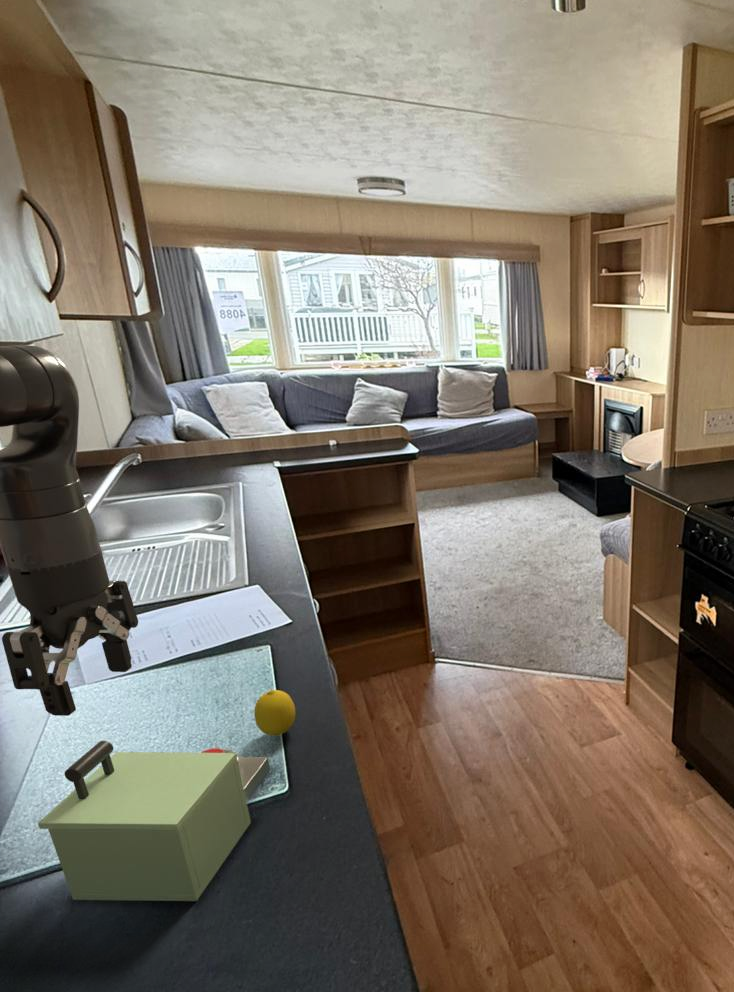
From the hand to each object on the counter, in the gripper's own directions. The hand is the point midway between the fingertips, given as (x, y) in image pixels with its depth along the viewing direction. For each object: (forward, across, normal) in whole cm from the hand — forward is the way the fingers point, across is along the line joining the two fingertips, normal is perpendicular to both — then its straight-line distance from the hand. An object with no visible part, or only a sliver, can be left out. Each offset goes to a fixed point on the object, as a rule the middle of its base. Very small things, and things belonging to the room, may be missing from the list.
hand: (93, 690), depth 71 cm
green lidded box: (+22, +1, +4) cm, 23 cm away
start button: (+19, -11, +3) cm, 22 cm away
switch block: (+22, -11, +3) cm, 25 cm away
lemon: (+23, -23, +6) cm, 33 cm away
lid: (+13, +1, +4) cm, 13 cm away
